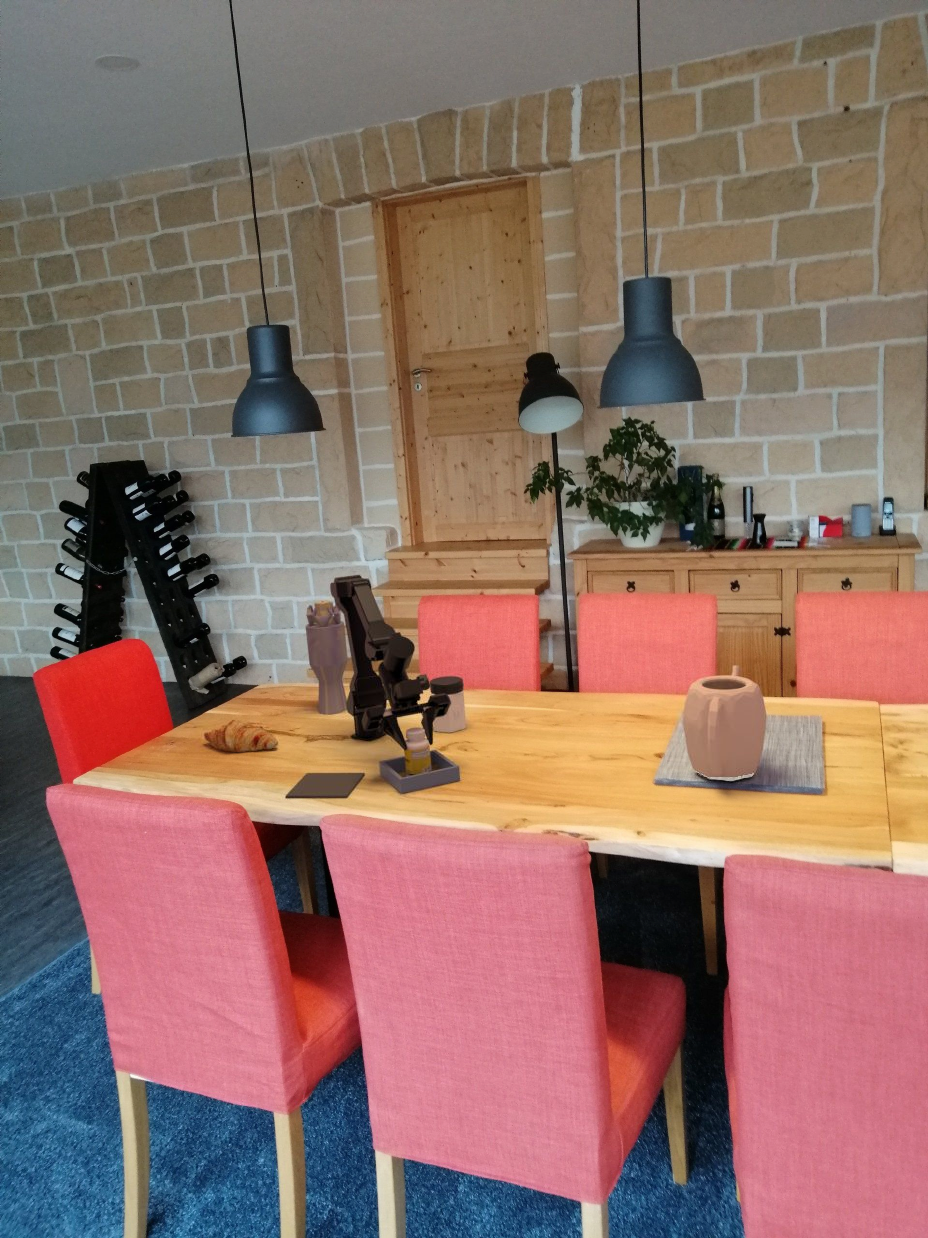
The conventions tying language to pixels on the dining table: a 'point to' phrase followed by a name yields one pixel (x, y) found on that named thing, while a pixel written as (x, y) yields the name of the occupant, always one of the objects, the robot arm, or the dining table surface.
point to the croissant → (241, 737)
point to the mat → (325, 785)
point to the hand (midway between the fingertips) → (418, 746)
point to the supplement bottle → (417, 752)
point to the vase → (327, 654)
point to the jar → (457, 708)
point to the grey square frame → (420, 781)
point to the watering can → (724, 725)
